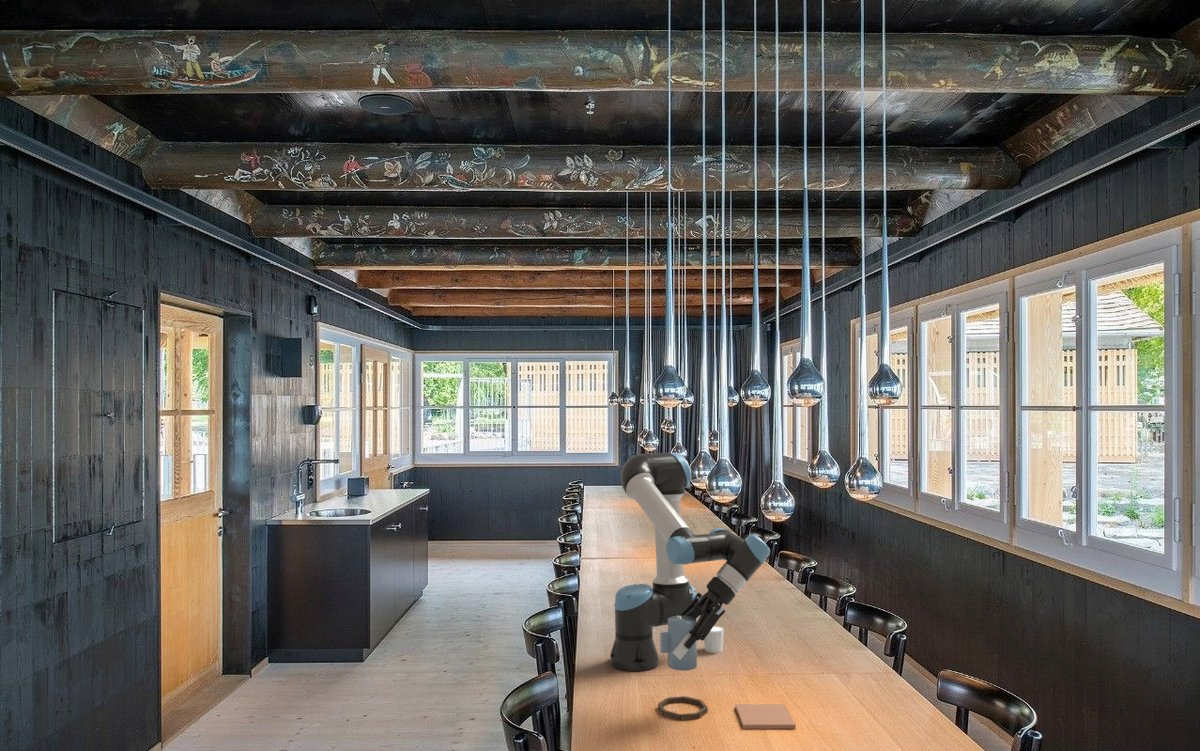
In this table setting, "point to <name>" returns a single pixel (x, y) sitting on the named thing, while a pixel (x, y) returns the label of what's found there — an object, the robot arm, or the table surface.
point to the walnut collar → (682, 716)
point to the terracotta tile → (764, 716)
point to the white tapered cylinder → (714, 640)
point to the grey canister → (672, 639)
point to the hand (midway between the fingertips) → (670, 650)
